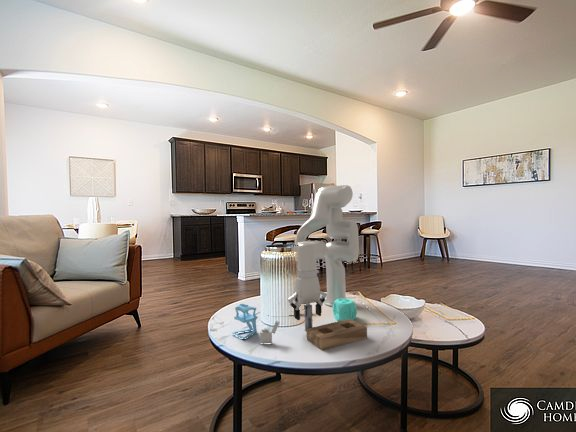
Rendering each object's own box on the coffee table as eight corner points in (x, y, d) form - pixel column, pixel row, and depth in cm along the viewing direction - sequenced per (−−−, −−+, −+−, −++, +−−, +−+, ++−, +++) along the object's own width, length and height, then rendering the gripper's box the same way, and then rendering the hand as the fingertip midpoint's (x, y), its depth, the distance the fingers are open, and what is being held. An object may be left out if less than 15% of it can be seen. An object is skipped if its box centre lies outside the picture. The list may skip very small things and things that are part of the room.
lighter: (260, 344, 108) (259, 322, 108) (260, 342, 109) (260, 320, 109) (279, 344, 107) (279, 322, 107) (280, 342, 109) (279, 320, 109)
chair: (260, 334, 117) (260, 303, 117) (243, 340, 111) (242, 308, 111) (249, 329, 122) (248, 299, 122) (231, 335, 117) (231, 304, 117)
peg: (303, 329, 120) (303, 305, 120) (310, 328, 121) (309, 303, 121) (307, 332, 117) (306, 307, 117) (314, 330, 118) (313, 305, 118)
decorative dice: (339, 323, 126) (339, 304, 126) (332, 317, 134) (332, 299, 134) (357, 321, 128) (356, 302, 128) (349, 315, 136) (348, 297, 135)
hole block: (306, 339, 111) (306, 328, 111) (350, 328, 119) (349, 318, 119) (321, 350, 102) (321, 338, 102) (367, 337, 111) (366, 327, 111)
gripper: (320, 270, 126) (321, 311, 126) (283, 274, 118) (284, 318, 118) (330, 273, 119) (331, 316, 119) (292, 278, 111) (293, 323, 111)
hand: (308, 317), depth 119 cm, fingers open, 9 cm apart
